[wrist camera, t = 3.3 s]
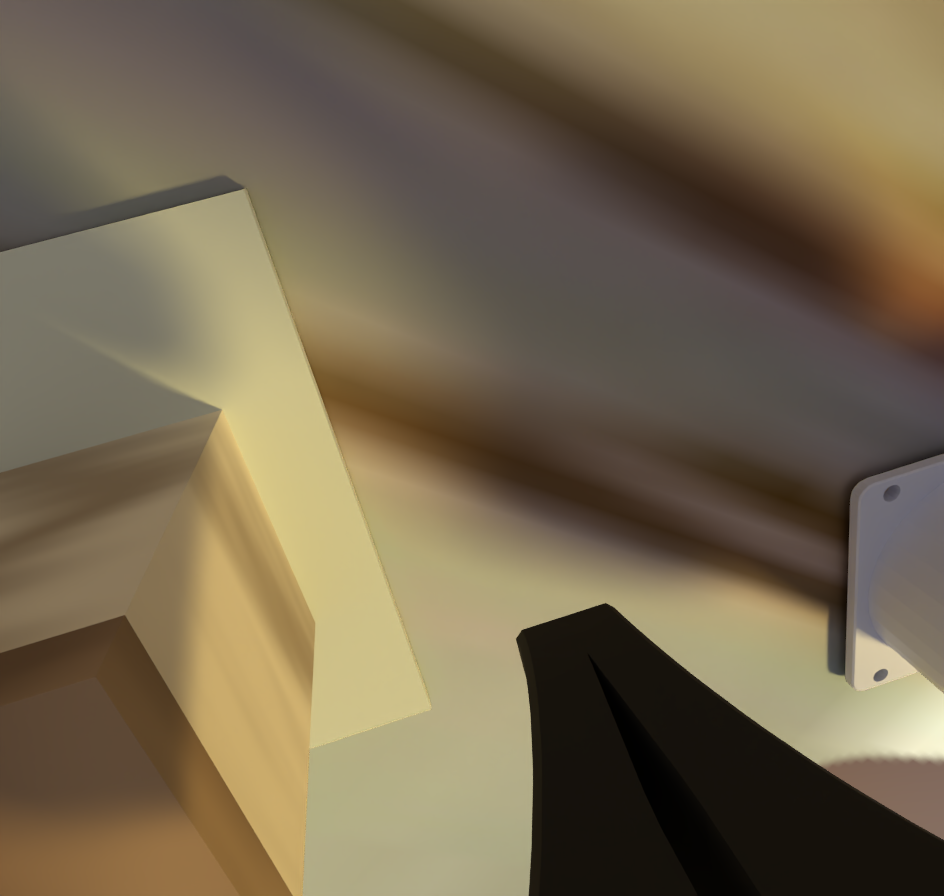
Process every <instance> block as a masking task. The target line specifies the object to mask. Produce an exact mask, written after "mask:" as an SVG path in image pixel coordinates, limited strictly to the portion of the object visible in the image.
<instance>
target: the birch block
mask: <svg viewBox="0 0 944 896" xmlns="http://www.w3.org/2000/svg"><path fill="white" fill-rule="evenodd" d="M314 643H315V621H314V619H313V616H312V614H311V612H310V609H309V607H308V605H307V603H306V600H305V598H304V596H303V593H302V591H301V589H300V587H299V584H298V582H297V580H296V577H295V575H294V573H293V570H292V568H291V566H290V564H289V561H288V559H287V557H286V554H285V552H284V550H283V548H282V545H281V543H280V541H279V538H278V536H277V534H276V531H275V529H274V527H273V525H272V522H271V520H270V518H269V515H268V513H267V511H266V509H265V506H264V504H263V502H262V499H261V497H260V495H259V492H258V490H257V488H256V486H255V483H254V481H253V479H252V476H251V474H250V472H249V469H248V467H247V465H246V463H245V460H244V458H243V456H242V453H241V451H240V449H239V447H238V444H237V442H236V440H235V437H234V435H233V433H232V430H231V428H230V426H229V424H228V421H227V419H226V417H225V414H224V412H223V410H219V411H216V412H212V413H209V414H205V415H202V416H198V417H194V418H191V419H187V420H184V421H180V422H177V423H173V424H170V425H166V426H163V427H159V428H156V429H152V430H149V431H145V432H142V433H138V434H135V435H131V436H128V437H124V438H121V439H117V440H114V441H110V442H107V443H103V444H100V445H96V446H92V447H89V448H85V449H82V450H78V451H75V452H71V453H68V454H64V455H61V456H57V457H54V458H50V459H47V460H43V461H40V462H36V463H33V464H29V465H26V466H22V467H19V468H15V469H12V470H8V471H5V472H1V473H0V896H302V893H303V872H304V851H305V830H306V810H307V789H308V768H309V747H310V726H311V706H312V685H313V664H314Z"/></svg>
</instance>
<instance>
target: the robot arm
mask: <svg viewBox="0 0 944 896" xmlns="http://www.w3.org/2000/svg"><path fill="white" fill-rule="evenodd" d="M888 487H889V488H888ZM887 488H888V490H887ZM886 490H887V491H886ZM885 491H886V492H885ZM884 492H885V493H884ZM516 641H517V644H518V648H519V652H520V656H521V660H522V663H523V667H524V671H525V675H526V679H527V685H528V694H529V703H530V713H531V732H532V755H533V812H532V851H531V869H530V885H529V896H944V840H943V839H941V838H939V837H937V836H935V835H934V834H932V833H930V832H928V831H927V830H925V829H923V828H921V827H919V826H918V825H916V824H914V823H912V822H910V821H909V820H907V819H905V818H904V817H902V816H901V815H899V814H897V813H895V812H894V811H892V810H890V809H889V808H887V807H885V806H884V805H882V804H880V803H879V802H877V801H875V800H874V799H872V798H870V797H869V796H867V795H865V794H864V793H862V792H860V791H859V790H857V789H856V788H854V787H852V786H851V785H849V784H847V783H846V782H844V781H843V780H841V779H839V778H838V777H836V776H835V775H833V774H832V773H830V772H829V771H827V770H826V769H824V768H823V767H821V766H819V765H818V764H816V763H815V762H813V761H812V760H810V759H809V758H807V757H806V756H804V755H803V754H801V753H800V752H798V751H797V750H795V749H794V748H792V747H791V746H790V745H788V744H787V743H785V742H784V741H782V740H781V739H779V738H778V737H776V736H775V735H773V734H772V733H770V732H769V731H767V730H766V729H765V728H763V727H762V726H760V725H759V724H758V723H756V722H755V721H753V720H752V719H751V718H749V717H748V716H746V715H745V714H744V713H742V712H741V711H740V710H738V709H737V708H736V707H734V706H733V705H732V704H730V703H729V702H728V701H726V700H725V699H724V698H722V697H721V696H720V695H718V694H717V693H716V692H714V691H713V690H712V689H710V688H709V687H708V686H706V685H705V684H704V683H702V682H701V681H700V680H698V679H697V678H696V677H695V676H693V675H692V674H691V673H690V672H688V671H687V670H686V669H685V668H683V667H682V666H681V665H680V664H678V663H677V662H676V661H675V660H674V659H672V658H671V657H670V656H669V655H667V654H666V653H665V652H664V651H663V650H661V649H660V648H659V647H658V646H657V645H655V644H654V643H653V642H652V641H651V640H650V639H648V638H647V637H646V636H645V635H644V634H643V633H642V632H640V631H639V630H638V629H637V628H636V627H635V626H634V625H632V624H631V623H630V622H629V621H628V620H627V619H626V618H625V617H624V616H623V615H622V614H620V613H619V612H618V611H617V610H616V609H615V608H614V607H612V606H610V605H608V604H606V603H605V604H601V605H598V606H595V607H592V608H589V609H586V610H583V611H580V612H577V613H573V614H570V615H567V616H564V617H561V618H558V619H555V620H552V621H549V622H546V623H542V624H539V625H536V626H533V627H530V628H527V629H524V630H522V631H521V633H520V634H519V635H518V637H517V638H516ZM917 672H920V673H921V674H922V675H923V676H924V677H925V678H927V679H928V680H929V681H930V682H931V683H932V684H934V685H935V686H936V687H937V688H938V689H939V690H940V691H942V692H943V693H944V454H941V455H938V456H935V457H931V458H928V459H925V460H922V461H919V462H916V463H912V464H909V465H906V466H903V467H900V468H897V469H893V470H890V471H887V472H884V473H881V474H878V475H875V476H871V477H868V478H866V479H864V480H862V481H860V482H859V483H858V484H857V485H856V486H855V487H854V489H853V490H852V493H851V497H850V525H849V559H848V593H847V628H846V662H845V679H846V682H847V683H848V684H849V685H850V686H851V687H852V688H854V689H855V690H858V691H863V690H868V689H870V688H873V687H876V686H879V685H882V684H885V683H888V682H891V681H894V680H897V679H899V678H902V677H905V676H908V675H911V674H914V673H917Z"/></svg>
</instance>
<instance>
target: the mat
mask: <svg viewBox="0 0 944 896" xmlns="http://www.w3.org/2000/svg"><path fill="white" fill-rule="evenodd" d="M219 410H223V412H224V414H225V417H226V419H227V421H228V424H229V426H230V428H231V430H232V433H233V435H234V437H235V440H236V442H237V444H238V447H239V449H240V451H241V453H242V456H243V458H244V460H245V463H246V465H247V467H248V469H249V472H250V474H251V476H252V479H253V481H254V483H255V486H256V488H257V490H258V492H259V495H260V497H261V499H262V502H263V504H264V506H265V509H266V511H267V513H268V515H269V518H270V520H271V522H272V525H273V527H274V529H275V531H276V534H277V536H278V538H279V541H280V543H281V545H282V548H283V550H284V552H285V554H286V557H287V559H288V561H289V564H290V566H291V568H292V570H293V573H294V575H295V577H296V580H297V582H298V584H299V587H300V589H301V591H302V593H303V596H304V598H305V600H306V603H307V605H308V607H309V609H310V612H311V614H312V616H313V619H314V621H315V643H314V664H313V685H312V706H311V726H310V747H309V749H312V748H315V747H318V746H321V745H324V744H327V743H330V742H333V741H336V740H339V739H342V738H345V737H348V736H351V735H354V734H357V733H361V732H364V731H367V730H370V729H373V728H376V727H379V726H382V725H385V724H388V723H391V722H394V721H397V720H400V719H403V718H406V717H409V716H412V715H415V714H418V713H421V712H425V711H428V710H431V703H430V698H429V695H428V693H427V690H426V687H425V684H424V681H423V679H422V676H421V673H420V670H419V668H418V665H417V662H416V659H415V656H414V654H413V651H412V648H411V645H410V643H409V640H408V637H407V634H406V631H405V629H404V626H403V623H402V620H401V617H400V615H399V612H398V609H397V606H396V604H395V601H394V598H393V595H392V592H391V590H390V587H389V584H388V581H387V579H386V576H385V573H384V570H383V567H382V565H381V562H380V559H379V556H378V554H377V551H376V548H375V545H374V542H373V540H372V537H371V534H370V531H369V528H368V526H367V523H366V520H365V517H364V515H363V512H362V509H361V506H360V503H359V501H358V498H357V495H356V492H355V490H354V487H353V484H352V481H351V478H350V476H349V473H348V470H347V467H346V465H345V462H344V459H343V456H342V453H341V451H340V448H339V445H338V442H337V439H336V437H335V434H334V431H333V428H332V426H331V423H330V420H329V417H328V414H327V412H326V409H325V406H324V403H323V401H322V398H321V395H320V392H319V389H318V387H317V384H316V381H315V378H314V375H313V373H312V370H311V367H310V364H309V362H308V359H307V356H306V353H305V350H304V348H303V345H302V342H301V339H300V337H299V334H298V331H297V328H296V325H295V323H294V320H293V317H292V314H291V312H290V309H289V306H288V303H287V300H286V298H285V295H284V292H283V289H282V286H281V284H280V281H279V278H278V275H277V273H276V270H275V267H274V264H273V261H272V259H271V256H270V253H269V250H268V248H267V245H266V242H265V239H264V236H263V234H262V231H261V228H260V225H259V223H258V220H257V217H256V214H255V211H254V209H253V206H252V203H251V200H250V197H249V195H248V192H247V189H242V190H239V191H235V192H231V193H227V194H223V195H219V196H215V197H211V198H208V199H204V200H200V201H196V202H192V203H188V204H184V205H181V206H177V207H173V208H169V209H165V210H161V211H157V212H154V213H150V214H146V215H142V216H138V217H134V218H130V219H126V220H123V221H119V222H115V223H111V224H107V225H103V226H99V227H96V228H92V229H88V230H84V231H80V232H76V233H72V234H68V235H65V236H61V237H57V238H53V239H49V240H45V241H41V242H38V243H34V244H30V245H26V246H22V247H18V248H14V249H10V250H7V251H3V252H0V473H1V472H5V471H8V470H12V469H15V468H19V467H22V466H26V465H29V464H33V463H36V462H40V461H43V460H47V459H50V458H54V457H57V456H61V455H64V454H68V453H71V452H75V451H78V450H82V449H85V448H89V447H92V446H96V445H100V444H103V443H107V442H110V441H114V440H117V439H121V438H124V437H128V436H131V435H135V434H138V433H142V432H145V431H149V430H152V429H156V428H159V427H163V426H166V425H170V424H173V423H177V422H180V421H184V420H187V419H191V418H194V417H198V416H202V415H205V414H209V413H212V412H216V411H219Z"/></svg>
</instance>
